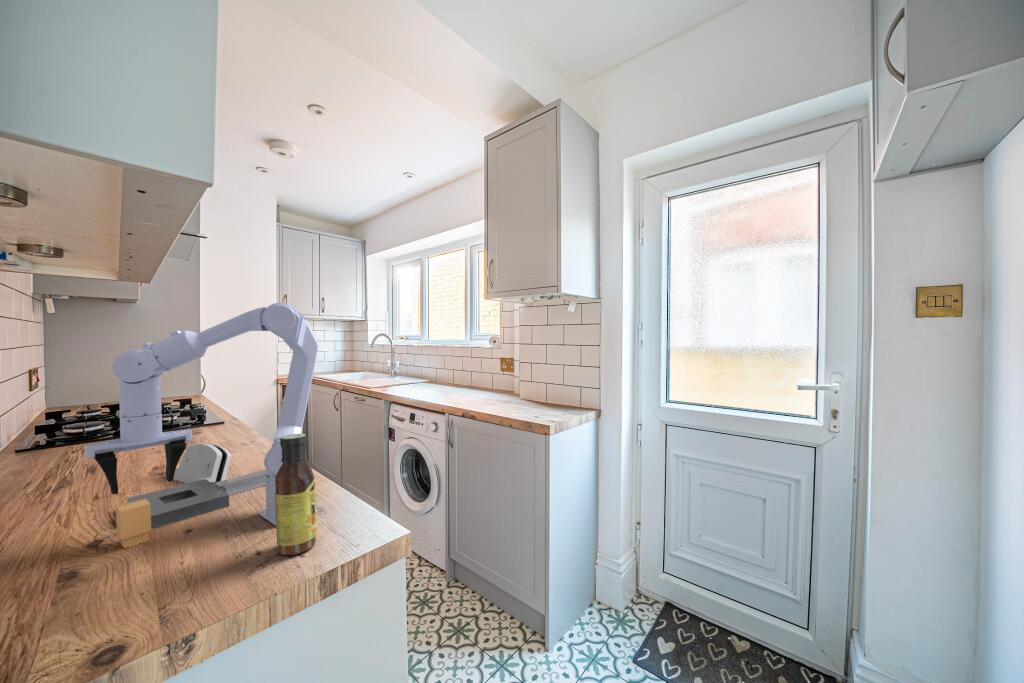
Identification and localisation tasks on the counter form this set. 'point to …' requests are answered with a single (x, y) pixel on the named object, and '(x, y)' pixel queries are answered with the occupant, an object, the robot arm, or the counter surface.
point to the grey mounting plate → (196, 497)
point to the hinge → (203, 464)
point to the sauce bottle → (295, 498)
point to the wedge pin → (133, 522)
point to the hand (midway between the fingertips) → (143, 486)
